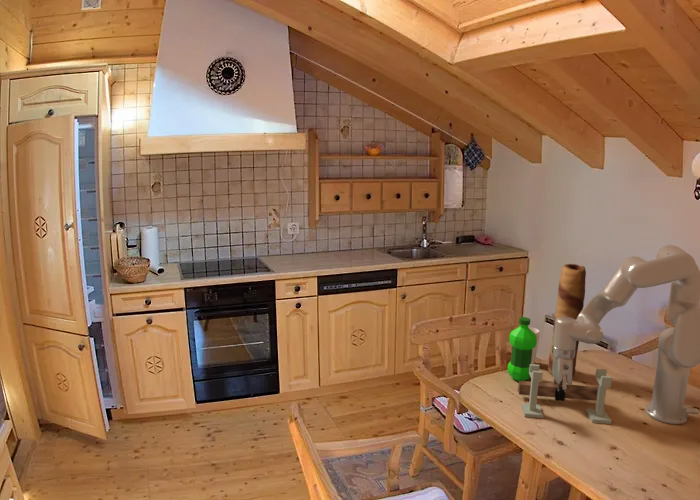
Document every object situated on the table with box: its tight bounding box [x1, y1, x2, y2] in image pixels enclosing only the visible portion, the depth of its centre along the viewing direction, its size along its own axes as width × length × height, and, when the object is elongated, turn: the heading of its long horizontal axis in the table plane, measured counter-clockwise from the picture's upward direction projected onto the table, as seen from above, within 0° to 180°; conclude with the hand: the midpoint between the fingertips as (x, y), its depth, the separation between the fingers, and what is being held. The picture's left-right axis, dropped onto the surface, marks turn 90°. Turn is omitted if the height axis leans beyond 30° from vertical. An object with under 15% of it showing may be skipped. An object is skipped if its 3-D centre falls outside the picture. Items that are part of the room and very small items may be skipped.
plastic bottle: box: [507, 316, 537, 382], centre depth 204 cm, size 10×10×25 cm
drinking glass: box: [528, 326, 540, 364], centre depth 219 cm, size 7×7×15 cm
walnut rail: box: [517, 380, 598, 402], centre depth 189 cm, size 28×3×4 cm, turn 82°
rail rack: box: [520, 363, 613, 425], centre depth 178 cm, size 28×7×17 cm, turn 82°
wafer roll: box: [547, 263, 587, 378], centre depth 207 cm, size 10×11×45 cm
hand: (558, 397), depth 189 cm, fingers closed on walnut rail, 2 cm apart
